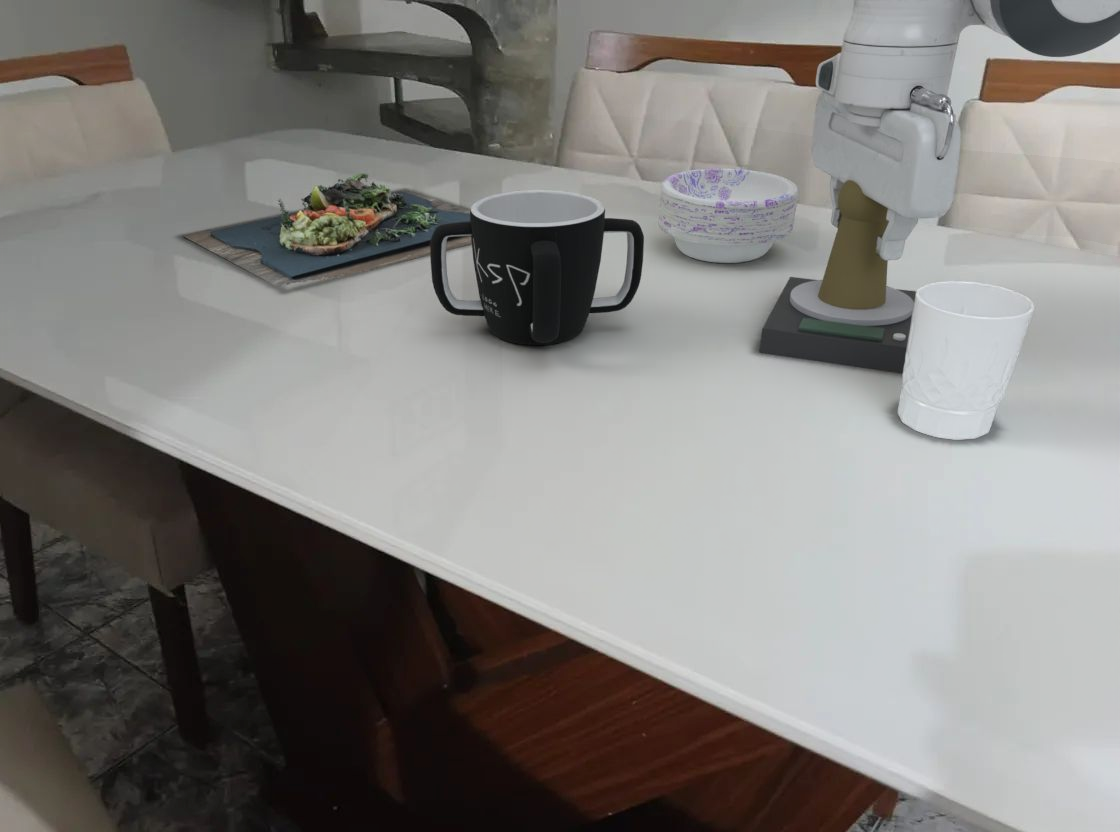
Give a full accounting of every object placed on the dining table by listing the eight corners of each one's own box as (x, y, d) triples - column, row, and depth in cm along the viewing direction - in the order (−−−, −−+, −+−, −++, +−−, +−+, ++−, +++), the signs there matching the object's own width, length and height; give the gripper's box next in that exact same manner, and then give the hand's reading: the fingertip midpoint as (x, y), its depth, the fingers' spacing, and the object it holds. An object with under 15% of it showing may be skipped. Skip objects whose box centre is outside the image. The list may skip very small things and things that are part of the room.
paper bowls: (733, 282, 104) (742, 208, 100) (629, 250, 114) (633, 182, 110) (816, 252, 112) (827, 183, 108) (711, 225, 122) (718, 161, 118)
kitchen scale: (786, 299, 99) (790, 270, 98) (922, 315, 94) (929, 286, 93) (758, 353, 87) (763, 321, 86) (912, 375, 83) (920, 342, 81)
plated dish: (289, 293, 104) (281, 225, 100) (178, 240, 123) (168, 181, 119) (531, 231, 123) (531, 172, 119) (402, 194, 142) (399, 142, 138)
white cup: (871, 421, 76) (897, 299, 70) (916, 390, 80) (943, 273, 75) (974, 455, 71) (1009, 327, 66) (1015, 419, 75) (1051, 297, 70)
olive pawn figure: (819, 307, 89) (838, 185, 83) (816, 285, 94) (834, 169, 88) (889, 311, 87) (913, 187, 82) (882, 289, 92) (904, 171, 87)
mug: (419, 328, 94) (412, 205, 88) (539, 290, 103) (540, 175, 97) (532, 380, 83) (533, 243, 77) (655, 332, 92) (665, 206, 86)
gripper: (998, 97, 72) (956, 276, 79) (875, 61, 89) (850, 210, 97) (916, 101, 72) (882, 281, 79) (809, 64, 89) (789, 214, 96)
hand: (863, 241), depth 88 cm, fingers open, 8 cm apart
